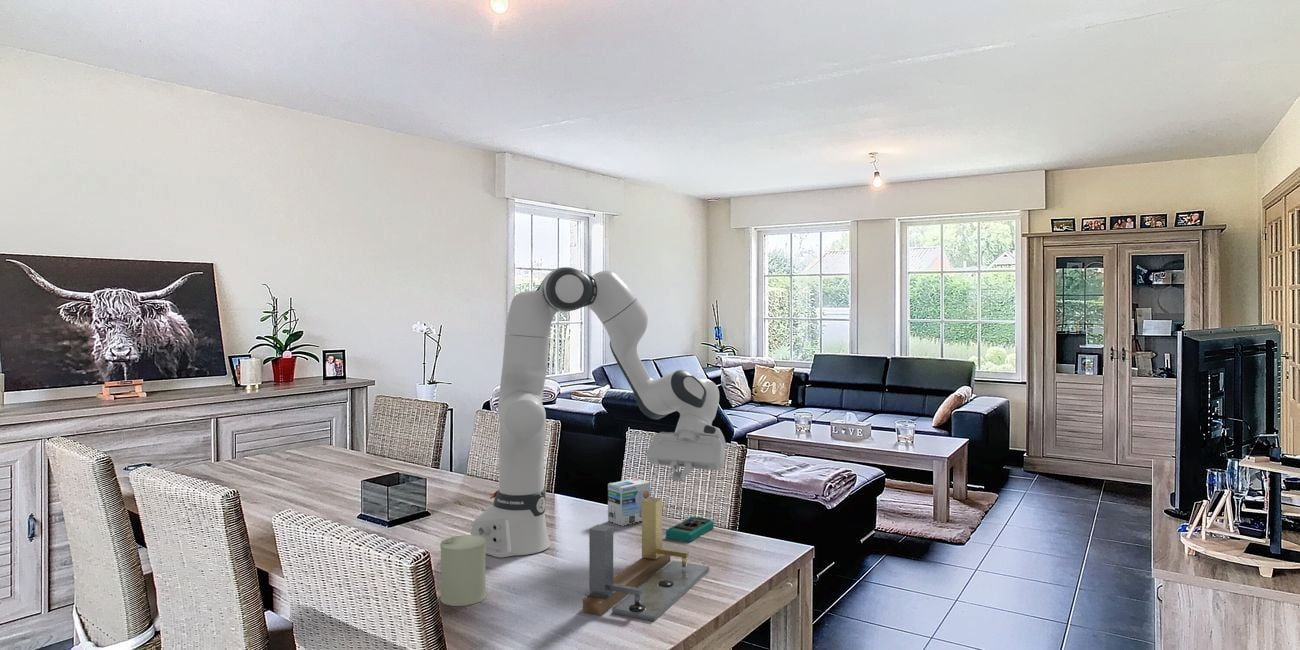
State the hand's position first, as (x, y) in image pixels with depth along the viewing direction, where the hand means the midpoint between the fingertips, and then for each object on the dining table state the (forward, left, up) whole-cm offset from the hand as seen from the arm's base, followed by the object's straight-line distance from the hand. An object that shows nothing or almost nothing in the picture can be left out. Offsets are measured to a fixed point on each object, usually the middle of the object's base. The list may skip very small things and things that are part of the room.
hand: (677, 479), depth 182 cm
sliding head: (+3, -15, -16) cm, 22 cm away
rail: (0, -26, -17) cm, 31 cm away
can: (-28, -47, -17) cm, 57 cm away
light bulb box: (-22, +17, -18) cm, 33 cm away
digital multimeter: (-2, +14, -18) cm, 23 cm away
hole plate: (+8, -26, -17) cm, 32 cm away
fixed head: (+3, -39, -16) cm, 42 cm away
